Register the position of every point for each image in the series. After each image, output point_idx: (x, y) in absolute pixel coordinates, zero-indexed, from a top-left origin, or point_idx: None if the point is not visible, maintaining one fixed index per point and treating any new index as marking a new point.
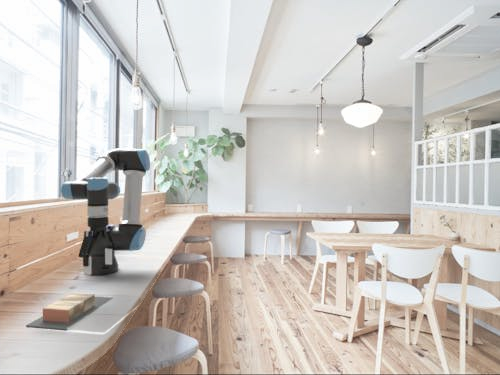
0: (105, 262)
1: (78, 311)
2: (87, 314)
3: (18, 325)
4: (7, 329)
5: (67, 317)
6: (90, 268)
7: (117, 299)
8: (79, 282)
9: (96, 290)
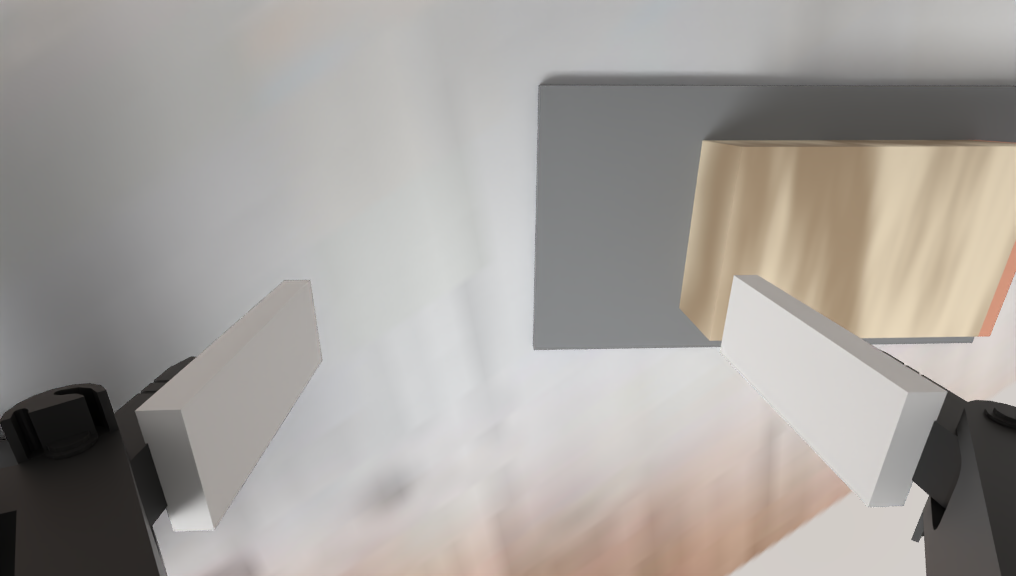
0: (315, 368)
1: (896, 142)
2: (863, 86)
3: None
4: (971, 400)
5: (1008, 142)
6: (795, 304)
7: (537, 46)
8: (292, 514)
9: (397, 324)
